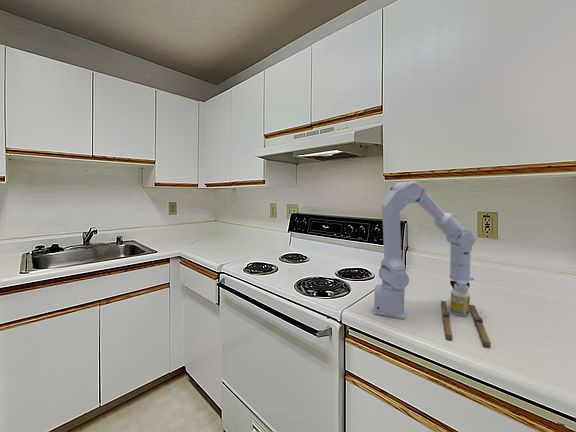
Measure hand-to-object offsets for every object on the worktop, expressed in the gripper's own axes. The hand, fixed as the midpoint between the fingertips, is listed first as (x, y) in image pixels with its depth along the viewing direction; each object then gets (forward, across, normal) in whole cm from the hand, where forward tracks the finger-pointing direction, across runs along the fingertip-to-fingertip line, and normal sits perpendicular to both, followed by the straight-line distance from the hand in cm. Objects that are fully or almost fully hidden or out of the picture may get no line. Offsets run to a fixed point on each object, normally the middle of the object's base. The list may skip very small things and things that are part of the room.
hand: (459, 302), depth 95 cm
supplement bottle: (+2, -3, 0) cm, 4 cm away
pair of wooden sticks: (+2, -11, 0) cm, 12 cm away
